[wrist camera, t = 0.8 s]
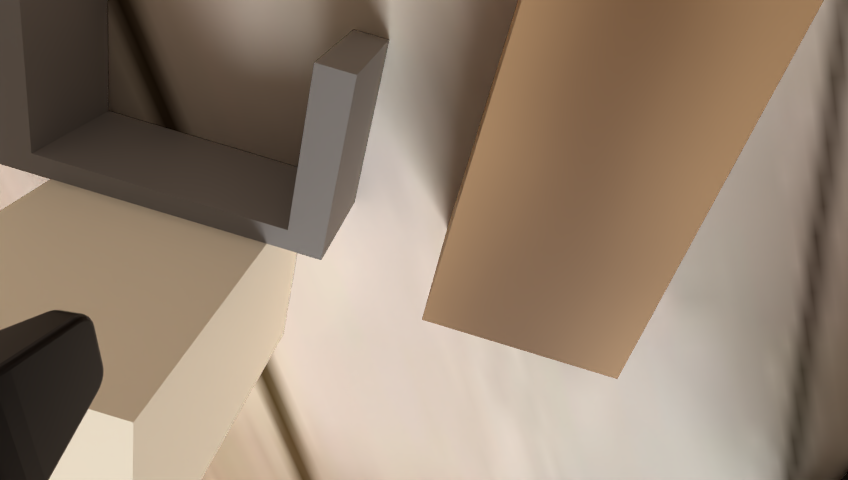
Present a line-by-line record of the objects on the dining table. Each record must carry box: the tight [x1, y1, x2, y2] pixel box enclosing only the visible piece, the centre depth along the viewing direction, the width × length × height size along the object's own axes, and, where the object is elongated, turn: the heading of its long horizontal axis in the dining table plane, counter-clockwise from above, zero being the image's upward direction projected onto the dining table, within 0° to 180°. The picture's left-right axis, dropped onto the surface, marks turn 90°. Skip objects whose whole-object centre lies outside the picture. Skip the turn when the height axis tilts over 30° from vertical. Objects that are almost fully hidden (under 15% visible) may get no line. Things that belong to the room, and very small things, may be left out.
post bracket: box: [0, 0, 389, 480], centre depth 16 cm, size 9×11×10 cm
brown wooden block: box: [422, 0, 824, 379], centre depth 15 cm, size 5×14×5 cm, turn 166°
